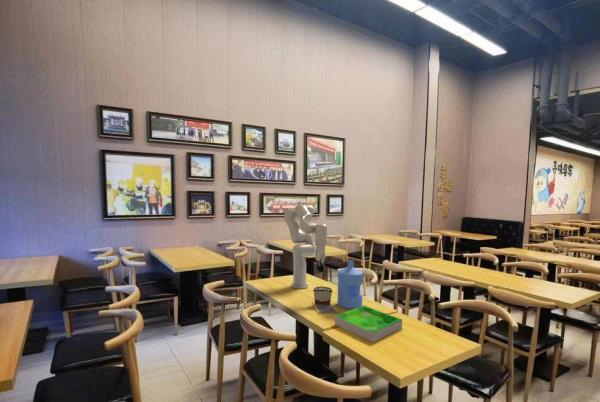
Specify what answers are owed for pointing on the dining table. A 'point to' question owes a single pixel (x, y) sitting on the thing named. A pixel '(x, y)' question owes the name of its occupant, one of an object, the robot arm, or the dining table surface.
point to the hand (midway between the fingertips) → (320, 270)
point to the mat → (325, 308)
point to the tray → (368, 323)
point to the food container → (322, 295)
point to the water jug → (349, 287)
